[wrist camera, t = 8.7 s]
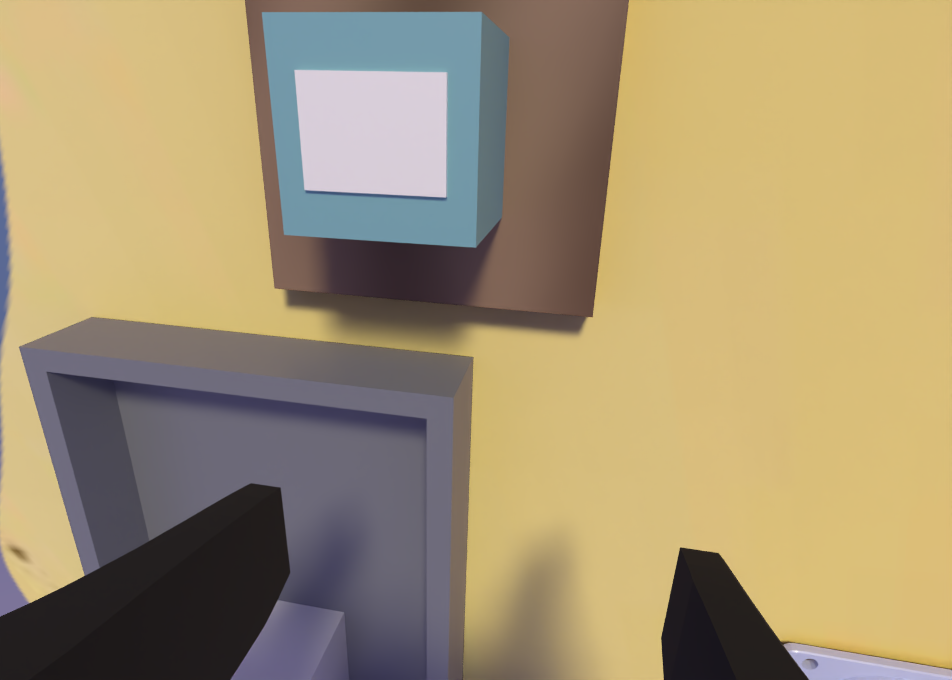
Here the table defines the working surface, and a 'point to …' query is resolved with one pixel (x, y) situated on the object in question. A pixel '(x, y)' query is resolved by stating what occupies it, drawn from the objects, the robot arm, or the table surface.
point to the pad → (525, 168)
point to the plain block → (298, 646)
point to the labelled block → (388, 124)
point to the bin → (277, 466)
